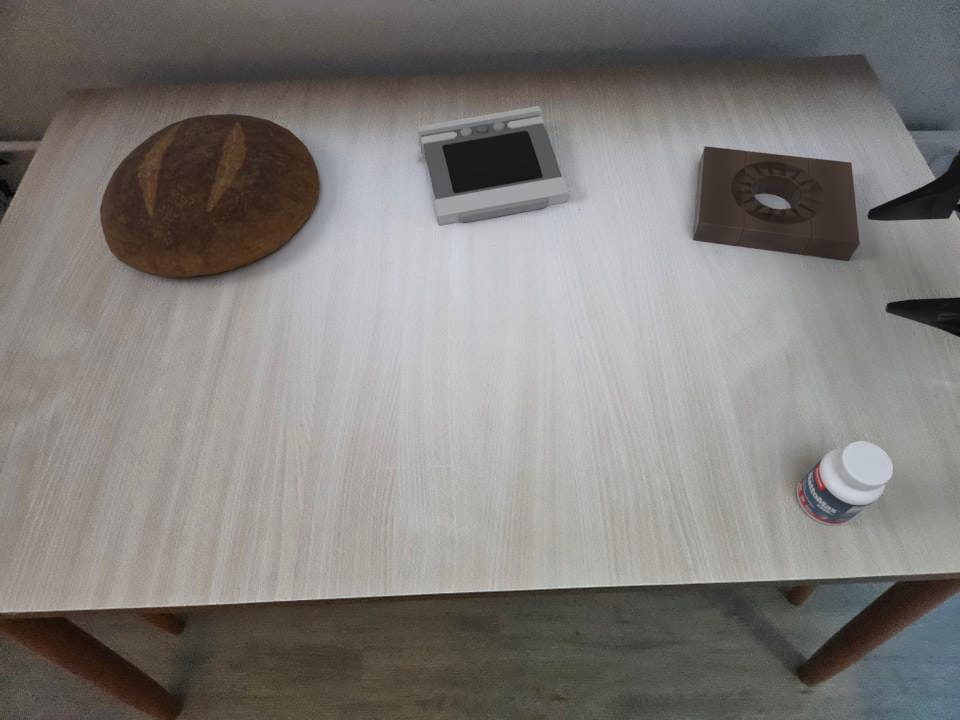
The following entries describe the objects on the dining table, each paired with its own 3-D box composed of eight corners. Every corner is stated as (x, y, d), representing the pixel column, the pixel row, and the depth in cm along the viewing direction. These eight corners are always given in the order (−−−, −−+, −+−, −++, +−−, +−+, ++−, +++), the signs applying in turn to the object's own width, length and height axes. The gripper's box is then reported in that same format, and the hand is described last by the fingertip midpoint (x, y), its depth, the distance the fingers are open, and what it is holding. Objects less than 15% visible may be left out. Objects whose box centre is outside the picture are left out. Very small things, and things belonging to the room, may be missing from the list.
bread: (82, 295, 79) (37, 246, 72) (136, 148, 94) (104, 96, 87) (311, 280, 79) (290, 230, 71) (330, 135, 93) (314, 81, 86)
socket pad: (841, 180, 83) (851, 162, 81) (848, 261, 76) (859, 243, 74) (699, 164, 86) (704, 146, 84) (692, 240, 79) (698, 222, 77)
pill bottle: (784, 484, 62) (820, 445, 54) (830, 465, 63) (872, 424, 55) (818, 535, 59) (861, 501, 52) (866, 514, 60) (915, 478, 52)
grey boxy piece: (538, 105, 89) (571, 176, 79) (538, 135, 93) (569, 206, 83) (417, 126, 88) (435, 201, 78) (422, 155, 92) (439, 230, 82)
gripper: (1126, 67, 47) (879, 106, 51) (1222, 294, 39) (925, 315, 44) (1055, 166, 56) (853, 192, 61) (1121, 363, 49) (887, 374, 54)
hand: (877, 259), depth 55 cm, fingers open, 9 cm apart
